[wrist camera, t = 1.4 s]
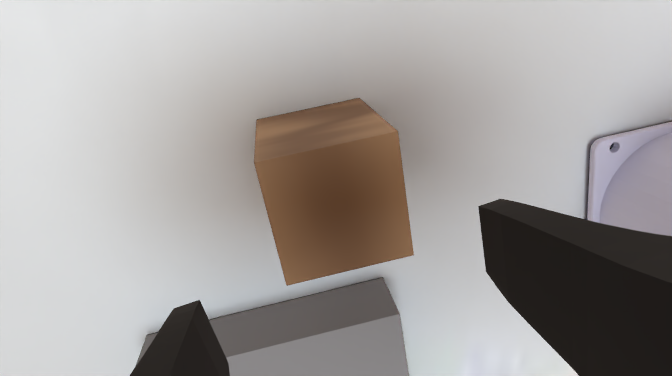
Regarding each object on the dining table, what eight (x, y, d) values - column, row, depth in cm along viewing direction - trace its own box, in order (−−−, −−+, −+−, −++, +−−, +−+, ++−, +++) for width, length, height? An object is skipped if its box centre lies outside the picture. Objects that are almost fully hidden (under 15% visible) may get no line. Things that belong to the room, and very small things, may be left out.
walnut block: (359, 97, 19) (397, 131, 14) (373, 191, 21) (413, 255, 15) (256, 119, 19) (254, 162, 13) (280, 213, 21) (286, 285, 15)
